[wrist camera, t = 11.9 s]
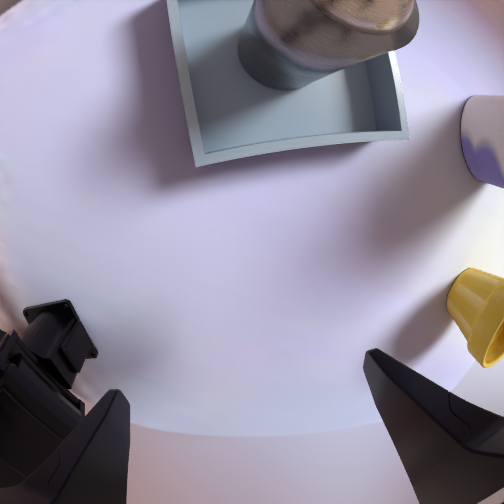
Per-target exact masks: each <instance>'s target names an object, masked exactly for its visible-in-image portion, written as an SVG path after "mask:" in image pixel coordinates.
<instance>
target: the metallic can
mask: <svg viewBox="0 0 504 504" xmlns="http://www.w3.org/2000/svg"><path fill="white" fill-rule="evenodd" d="M418 26H419V11H418V6H417V3H416V0H254V2H253V4H252V7H251V9H250V12H249V14H248V17H247V20H246V22H245V25H244V27H243V30H242V33H241V36H240V38H239V42H238V56H239V60H240V62H241V65H242V66H243V68H244V69H245V71H246V72H247V73H248V74H249V75H250V76H251V77H252V78H253V79H254V80H255V81H257V82H259V83H260V84H262V85H264V86H266V87H269V88H273V89H277V90H294V89H299V88H301V87H304V86H306V85H308V84H310V83H313V82H315V81H317V80H319V79H321V78H324V77H326V76H328V75H330V74H333V73H335V72H337V71H340V70H342V69H345V68H347V67H350V66H352V65H355V64H357V63H360V62H362V61H365V60H368V59H370V58H373V57H376V56H379V55H382V54H385V53H388V52H391V51H394V50H397V49H399V48H402V47H404V46H405V45H407V44H409V43H410V42H411V40H412V39H413V38H414V36H415V35H416V33H417V30H418Z"/></svg>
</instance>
